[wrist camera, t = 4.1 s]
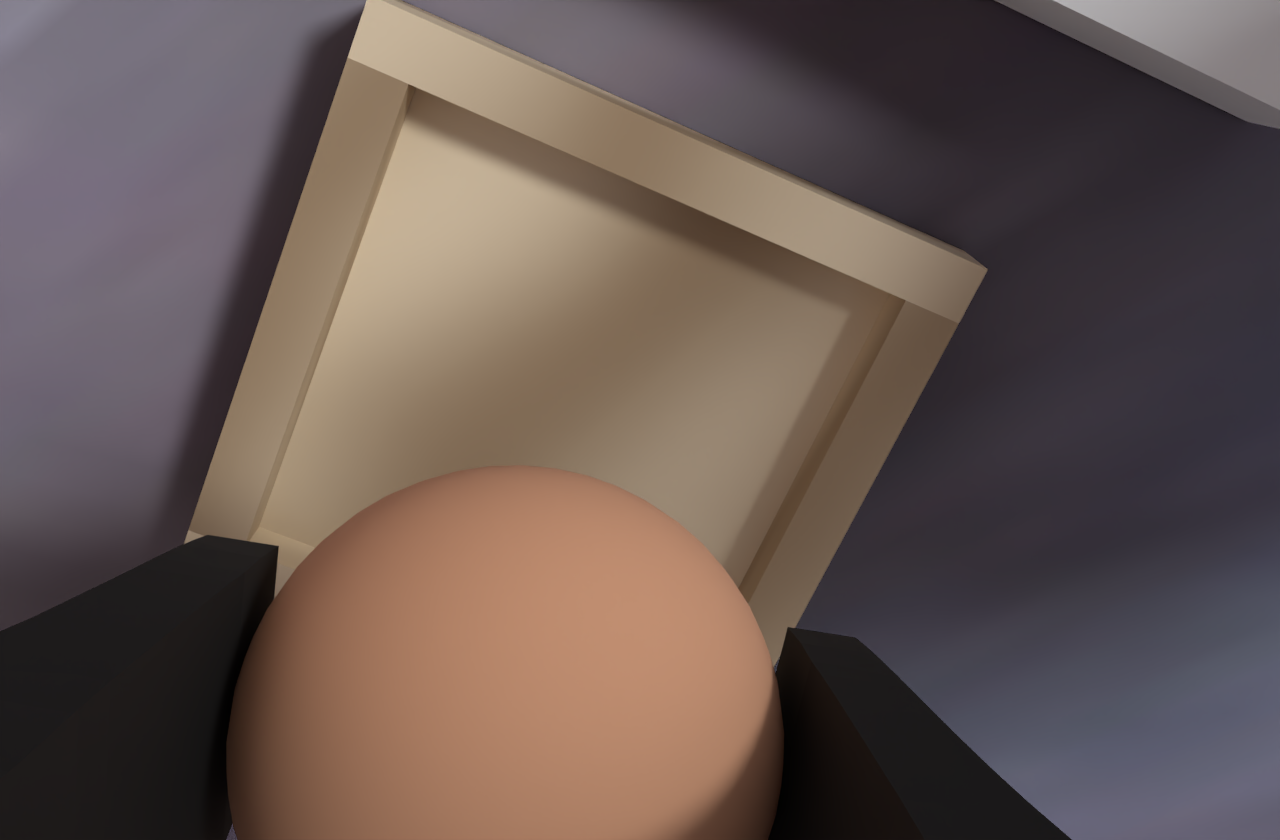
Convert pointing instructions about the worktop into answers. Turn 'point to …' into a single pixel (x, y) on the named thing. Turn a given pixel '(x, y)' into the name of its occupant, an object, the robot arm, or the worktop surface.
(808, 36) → the worktop surface
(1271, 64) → the bar
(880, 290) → the tray
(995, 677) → the worktop surface
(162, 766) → the robot arm
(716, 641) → the ball
